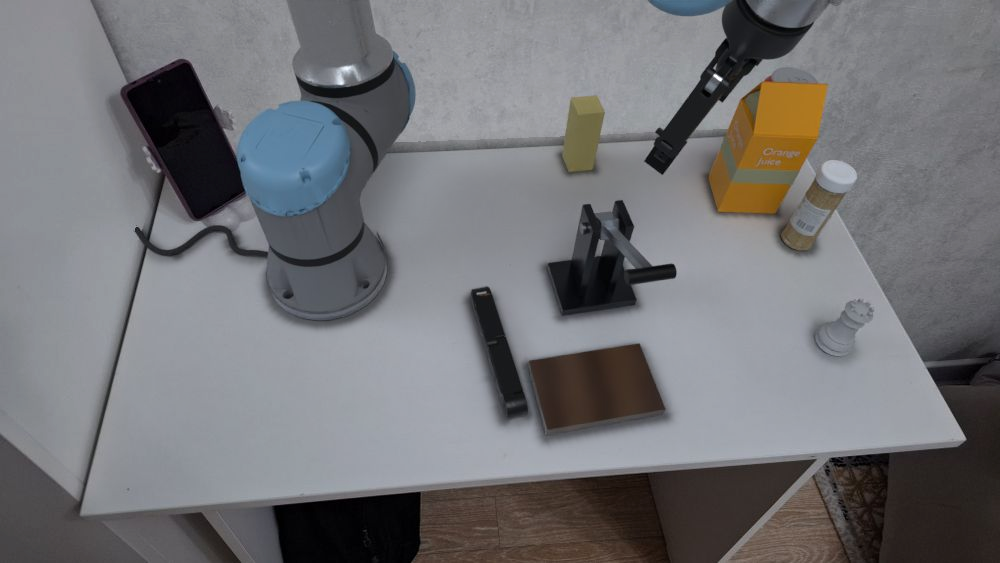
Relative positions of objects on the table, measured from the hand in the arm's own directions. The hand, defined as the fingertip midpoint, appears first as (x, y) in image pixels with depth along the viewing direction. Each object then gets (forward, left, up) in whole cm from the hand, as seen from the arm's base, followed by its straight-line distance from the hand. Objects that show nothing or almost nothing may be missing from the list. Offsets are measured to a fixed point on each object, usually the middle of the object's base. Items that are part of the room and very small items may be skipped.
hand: (685, 129), depth 75 cm
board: (-16, -23, -18) cm, 33 cm away
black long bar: (-26, -16, -19) cm, 36 cm away
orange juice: (+16, +5, -19) cm, 25 cm away
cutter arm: (-12, -14, -5) cm, 19 cm away
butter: (-7, +16, -18) cm, 25 cm away
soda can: (+22, +12, -19) cm, 31 cm away
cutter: (-12, -8, -18) cm, 23 cm away
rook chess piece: (+16, -22, -19) cm, 33 cm away
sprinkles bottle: (+20, -5, -19) cm, 28 cm away
